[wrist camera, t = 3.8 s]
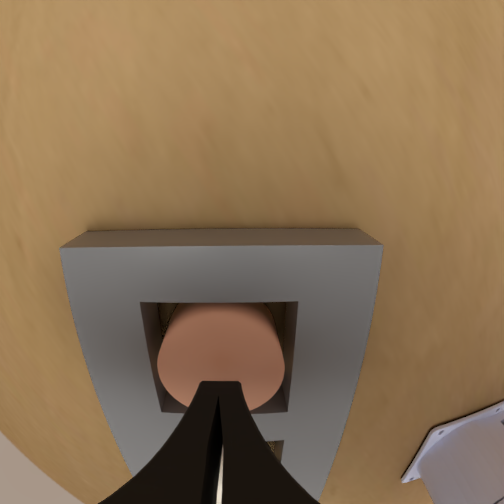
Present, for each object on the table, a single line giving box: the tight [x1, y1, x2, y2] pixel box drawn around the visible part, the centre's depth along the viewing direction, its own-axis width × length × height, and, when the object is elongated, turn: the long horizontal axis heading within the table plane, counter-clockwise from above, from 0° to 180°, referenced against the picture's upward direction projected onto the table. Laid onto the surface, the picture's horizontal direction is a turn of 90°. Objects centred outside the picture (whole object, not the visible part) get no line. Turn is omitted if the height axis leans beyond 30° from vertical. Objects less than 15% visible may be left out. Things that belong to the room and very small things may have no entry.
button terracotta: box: [157, 302, 285, 411], centre depth 13 cm, size 5×5×3 cm
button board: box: [59, 228, 383, 501], centre depth 16 cm, size 12×26×2 cm, turn 179°
